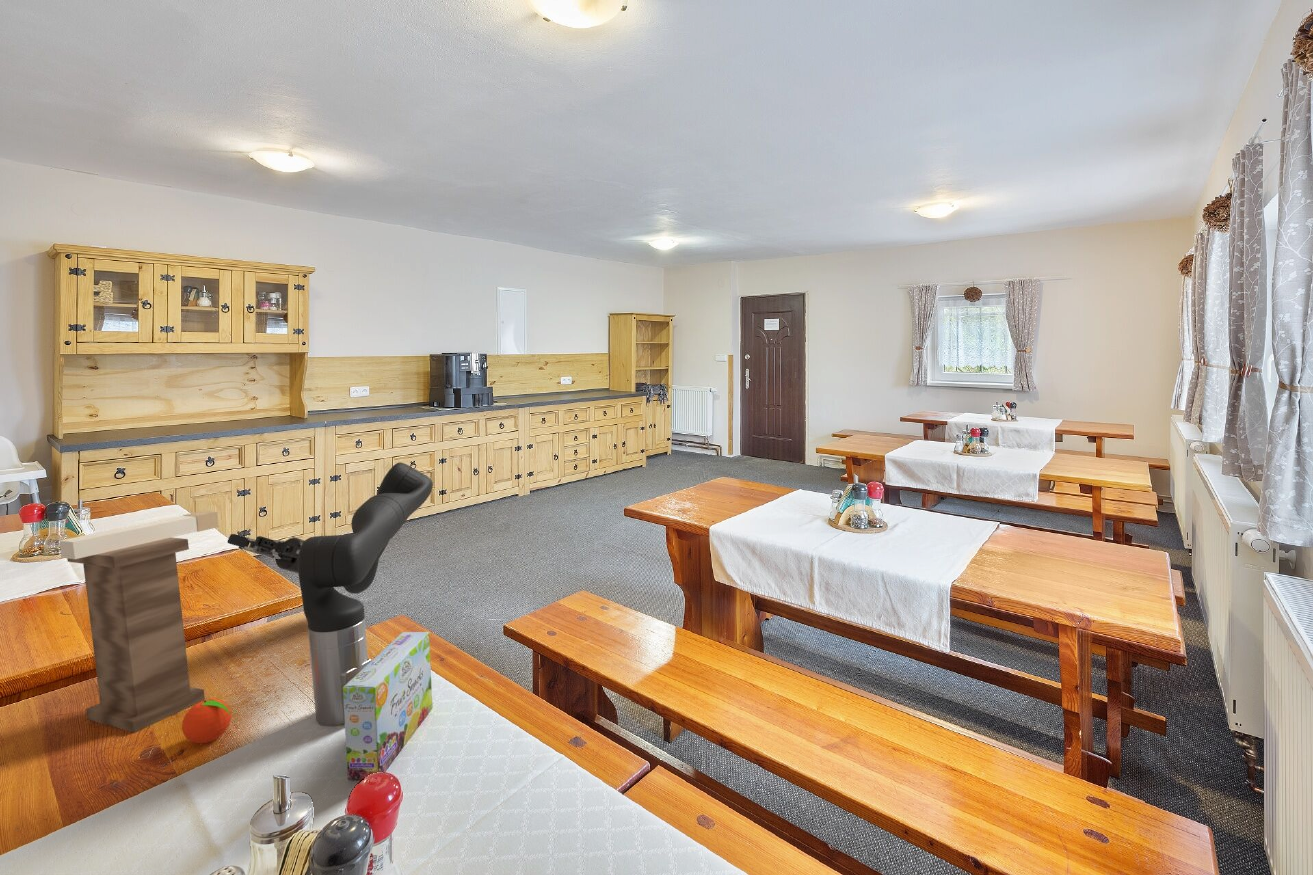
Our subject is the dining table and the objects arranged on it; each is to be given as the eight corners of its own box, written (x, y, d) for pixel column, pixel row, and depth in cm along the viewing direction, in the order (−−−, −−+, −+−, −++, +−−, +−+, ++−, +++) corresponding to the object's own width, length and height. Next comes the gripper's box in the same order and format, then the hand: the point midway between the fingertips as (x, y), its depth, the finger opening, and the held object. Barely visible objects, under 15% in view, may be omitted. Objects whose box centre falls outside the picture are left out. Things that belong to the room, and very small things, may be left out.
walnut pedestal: (204, 699, 120) (187, 539, 117) (134, 732, 109) (113, 556, 106) (159, 688, 126) (141, 534, 123) (87, 719, 114) (66, 550, 111)
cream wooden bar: (218, 527, 128) (217, 511, 127) (75, 559, 105) (73, 541, 105) (205, 525, 129) (203, 510, 129) (61, 558, 107) (58, 539, 107)
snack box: (382, 781, 94) (375, 686, 92) (346, 782, 94) (338, 687, 92) (435, 707, 115) (430, 629, 113) (405, 708, 115) (400, 629, 114)
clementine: (248, 729, 109) (244, 690, 109) (217, 752, 102) (213, 711, 102) (207, 728, 110) (203, 689, 109) (173, 751, 103) (168, 710, 103)
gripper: (288, 540, 152) (228, 521, 138) (331, 544, 147) (272, 524, 133) (276, 570, 149) (213, 553, 136) (319, 575, 144) (258, 558, 130)
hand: (243, 539), depth 134 cm, fingers open, 8 cm apart
